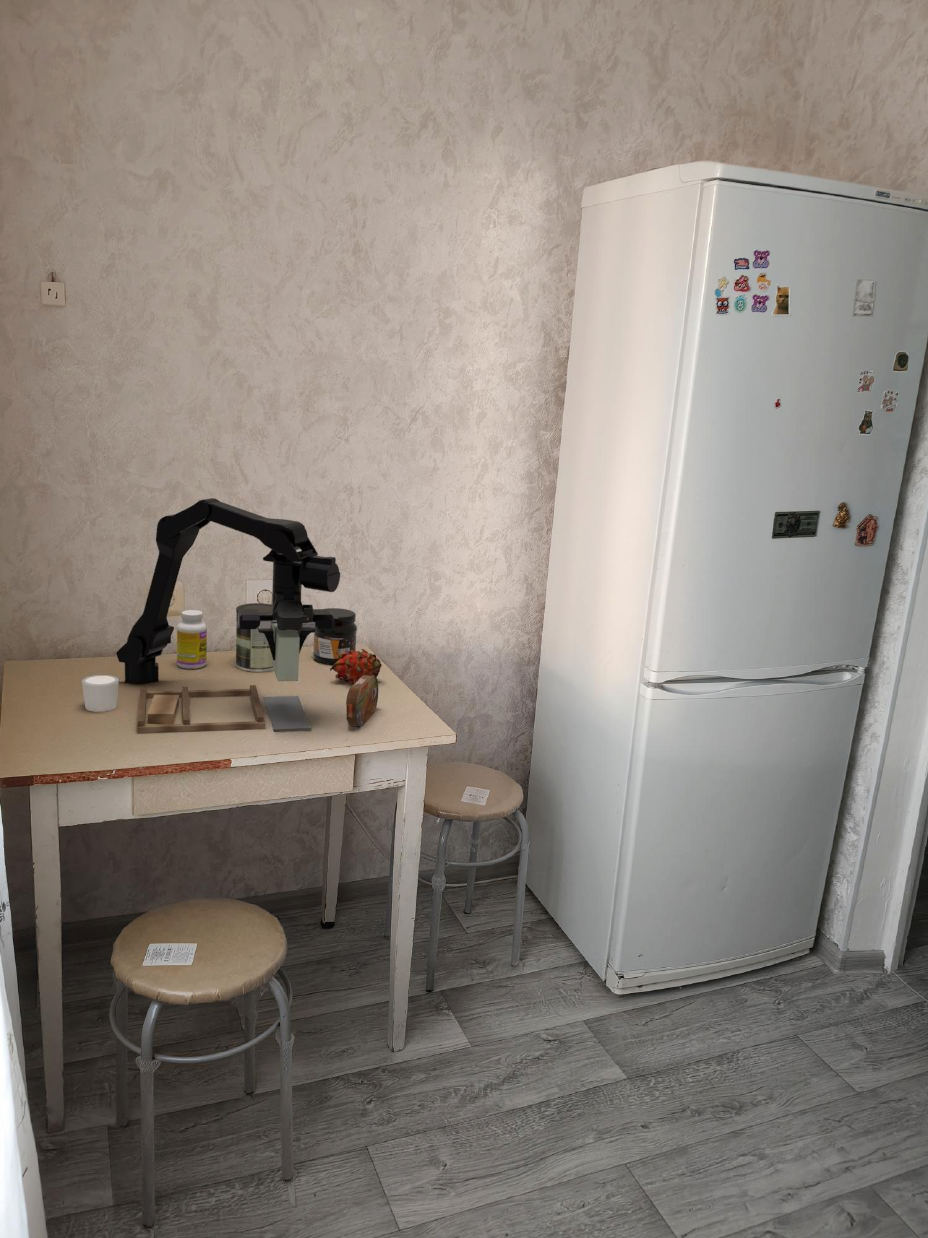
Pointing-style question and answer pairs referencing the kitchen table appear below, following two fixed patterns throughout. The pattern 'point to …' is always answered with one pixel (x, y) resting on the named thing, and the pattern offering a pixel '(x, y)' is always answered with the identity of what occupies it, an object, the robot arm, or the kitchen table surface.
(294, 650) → the pale green block
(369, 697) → the tin
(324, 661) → the supplement container
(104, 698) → the white cup
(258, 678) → the kitchen table surface
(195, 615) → the supplement bottle
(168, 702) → the offcut short
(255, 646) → the coffee can
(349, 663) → the dragon fruit
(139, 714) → the rack
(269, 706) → the mat
